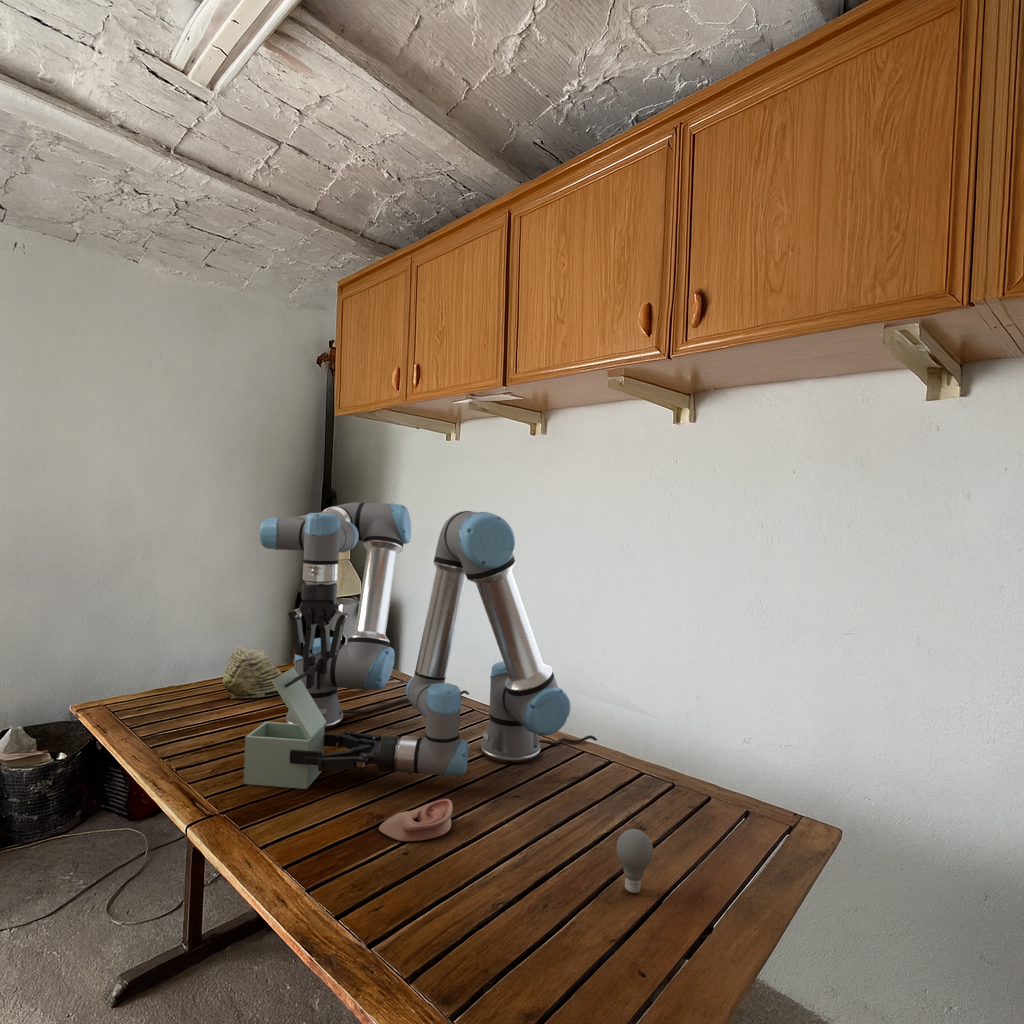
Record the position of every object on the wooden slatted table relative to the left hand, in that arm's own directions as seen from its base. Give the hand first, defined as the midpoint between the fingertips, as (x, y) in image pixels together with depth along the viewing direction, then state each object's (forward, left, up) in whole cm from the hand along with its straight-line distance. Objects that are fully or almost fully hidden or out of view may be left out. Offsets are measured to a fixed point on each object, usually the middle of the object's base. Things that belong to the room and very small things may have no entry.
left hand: (315, 687), depth 141 cm
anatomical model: (-2, +32, -21) cm, 38 cm away
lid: (+2, -3, -4) cm, 6 cm away
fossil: (-22, -63, -21) cm, 70 cm away
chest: (+3, -5, -21) cm, 22 cm away
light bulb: (-12, +73, -21) cm, 77 cm away
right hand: (+2, -2, -14) cm, 14 cm away
